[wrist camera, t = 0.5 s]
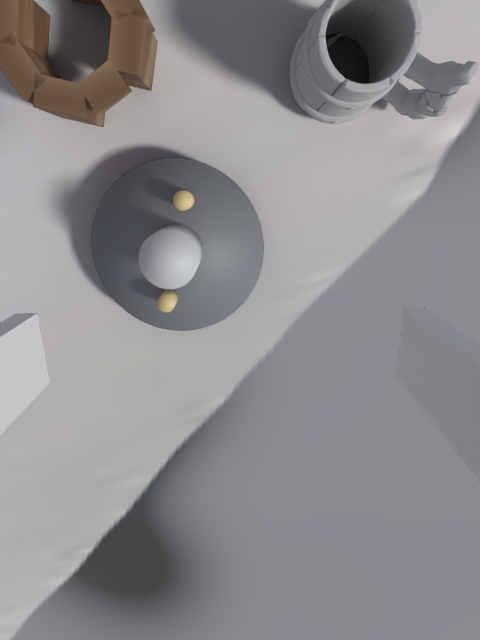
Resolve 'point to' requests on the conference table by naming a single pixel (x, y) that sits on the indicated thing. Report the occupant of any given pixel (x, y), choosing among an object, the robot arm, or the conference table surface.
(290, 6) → the conference table surface
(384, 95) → the mug
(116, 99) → the collar
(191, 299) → the flange base
